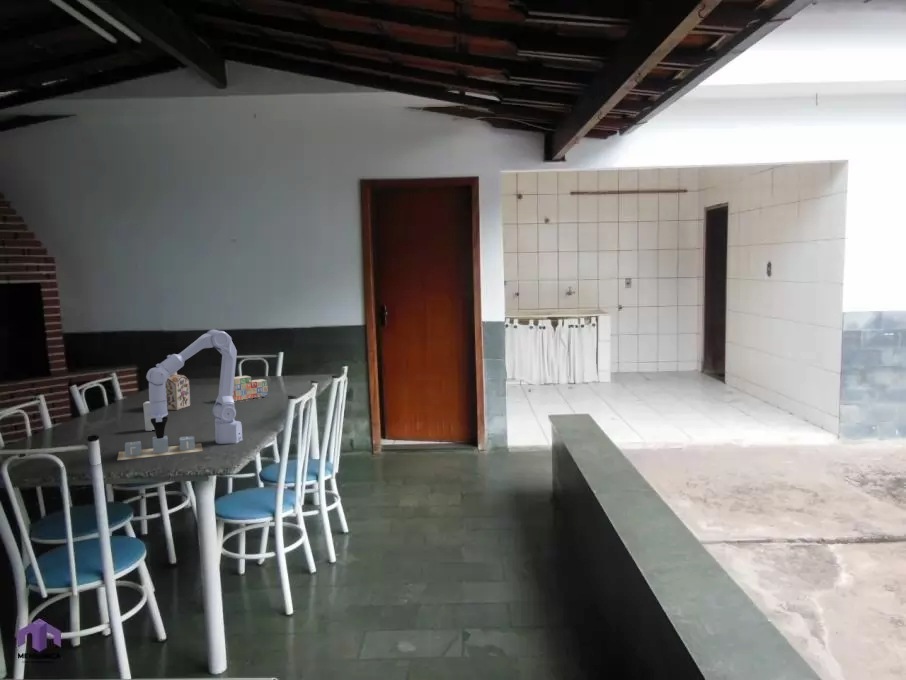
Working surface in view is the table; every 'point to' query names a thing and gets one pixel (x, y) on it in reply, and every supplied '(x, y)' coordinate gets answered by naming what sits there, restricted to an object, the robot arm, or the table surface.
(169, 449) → the birch board
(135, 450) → the block with a 7
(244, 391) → the stack of blocks
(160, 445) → the plain block
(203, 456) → the table surface
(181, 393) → the decorative jar
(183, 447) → the block with a 1
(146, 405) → the skincare box
